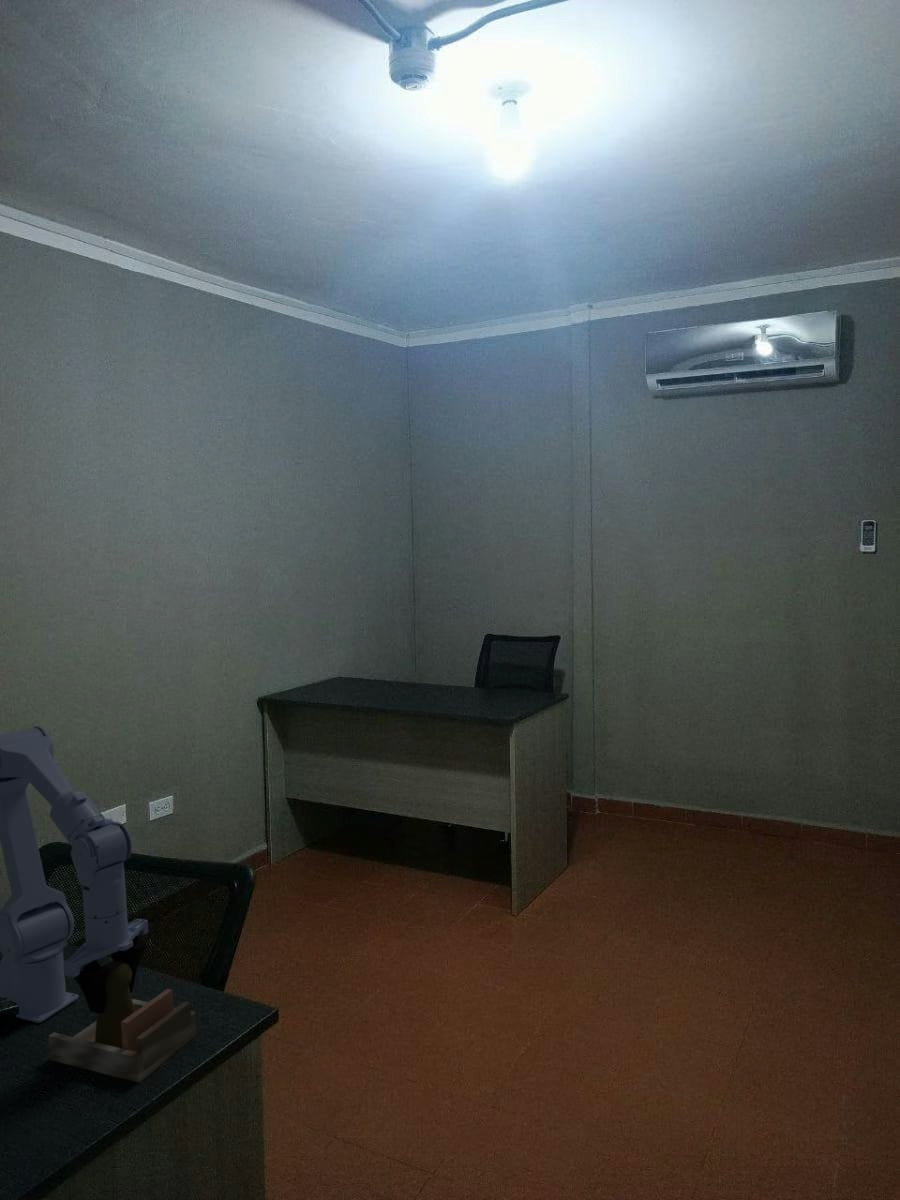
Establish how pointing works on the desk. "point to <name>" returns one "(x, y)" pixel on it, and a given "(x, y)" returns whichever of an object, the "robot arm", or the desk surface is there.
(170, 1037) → the wooden tray
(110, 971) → the brown tapered rounded cylinder
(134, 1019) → the lane pusher
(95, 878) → the robot arm
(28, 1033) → the desk surface
